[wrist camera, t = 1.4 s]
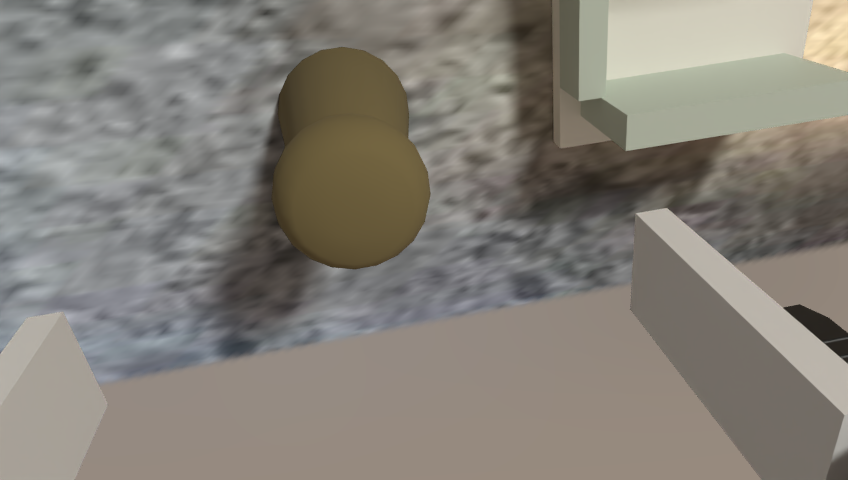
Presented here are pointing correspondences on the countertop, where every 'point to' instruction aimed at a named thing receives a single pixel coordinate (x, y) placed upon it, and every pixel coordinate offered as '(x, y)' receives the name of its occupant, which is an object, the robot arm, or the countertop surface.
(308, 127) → the brown rounded knob
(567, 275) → the countertop surface
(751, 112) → the holder
